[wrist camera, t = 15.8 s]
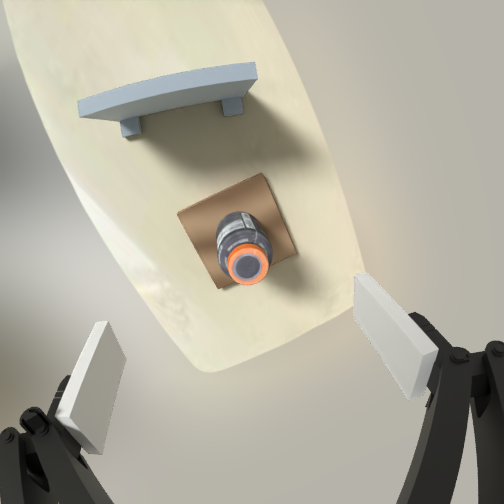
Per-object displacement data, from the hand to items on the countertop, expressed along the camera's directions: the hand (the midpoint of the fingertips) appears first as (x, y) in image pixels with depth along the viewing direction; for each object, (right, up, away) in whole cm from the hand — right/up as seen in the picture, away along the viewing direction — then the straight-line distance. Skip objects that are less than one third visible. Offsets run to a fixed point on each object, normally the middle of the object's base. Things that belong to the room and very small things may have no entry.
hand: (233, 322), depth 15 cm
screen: (-8, +22, +19) cm, 30 cm away
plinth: (-1, +6, +26) cm, 27 cm away
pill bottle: (-1, +6, +25) cm, 26 cm away
